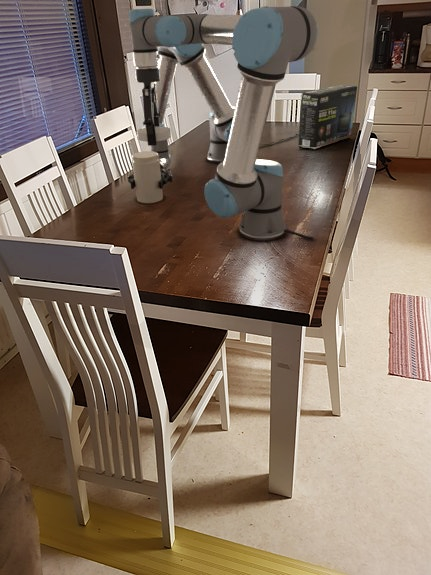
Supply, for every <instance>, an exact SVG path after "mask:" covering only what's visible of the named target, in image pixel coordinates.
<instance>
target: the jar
mask: <svg viewBox="0 0 431 575" xmlns="http://www.w3.org/2000/svg"><path fill="white" fill-rule="evenodd" d="M131 165H132V173H134V181H135V187H134V188H135V197H136V201H137V202H138V203H142V204H154V203H159V202H160V201H162V200H163V199H164V192H163V188H162V189H160V186H159V181H160V179H161V170H160V160H159V158H158V153H156V152H153V151H151V150H144V151H138V152H135V153H133V154H132V160H131Z"/></svg>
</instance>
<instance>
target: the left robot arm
mask: <svg viewBox="0 0 431 575" xmlns="http://www.w3.org/2000/svg"><path fill="white" fill-rule="evenodd" d="M158 47H159V48H158V54H157V55H160V58H158V60H159V65H158V66H157V68H159V69H160V81H158V82H153V83H155V84H156V95H157V102H158V109H159V113H161V116H159V126H161V127H167V126H166V124H165V123H164V118H165V115H166V110H167V106H168V103H169V98H170V95H171V94H170V93H171V88H172V85H173V81H174V77H175V73H176V69H177V65H178V64H179V65H180V67H183V68H186V69H187V71H188V73H189V75H190V76H191V78H192V80H193V82H194V84H195V85H196V87H197V89H198V91H199V92H200V94H201V96H202V98H203V99H204V102H205V104H206V105H207V106H208V108H209V110H210V112H209V114H208V116H209V117H208V120H209V122H208V123H209V140H210V142H209V147H208V152H207V155H206V158H207V159H206V160H207V162H210V163H213V164H220V163H222V162H224V159H225V154H226V149H227V144H228V140H229V135H230V130H231V125H232V120H233V116H234V111H235V106H232V104H231V103H230V101H229V99H228V97H227V95H226V93H225V92H224V90H223V87H222V86H221V84H220V82H219V80H218V79H217V77H216V74H215V73H214V71H213V68H212V67H211V65H210V63H209V61H208V59H207V58H206V56H205V54H206V47H205V46H204V44H187V45H179V46H176V47H165V46H158ZM141 128H146V125H143V124H142V126H141ZM168 140H169V139H166V140H162V141H156V143H157V145H151V146H150V151H153V152H156V153H158V158H159V160H160V170H161V179H160V181H159V186H160V189H162V190H163V188H164V185H167V184H168V182H169V183H173V175H172V171H171V168H169V167H170V165H171V161H172V158H171V154H170V150H169V141H168ZM127 181H128V183H129V184H130V189H131V190H134V188H135V181H134V173H133V172H132V173H131V174H129V175H128V176H127Z"/></svg>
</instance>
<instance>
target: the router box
mask: <svg viewBox="0 0 431 575" xmlns="http://www.w3.org/2000/svg"><path fill="white" fill-rule="evenodd" d="M357 93H358V86H356V85H350V84H339V85H338V84H337V85H334V86H328V87H324V88H318V89H314V90H309V91H304V92H301V93H300V109H299V110H300V111H299V124H298V132H299V134H298V137H297V146H298V145H302V146H307V147H317V146H320V145H323V144H325V143H328V142H331V141H333V140H336V139H338V138H341V137H344V136H347V135H351V136H352V133H353V132H352V131H353V125H354V115H355V109H356V99H357ZM311 151H313V150H312V149H311Z"/></svg>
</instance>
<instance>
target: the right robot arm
mask: <svg viewBox="0 0 431 575" xmlns="http://www.w3.org/2000/svg"><path fill="white" fill-rule="evenodd" d="M128 18H129V24H128V25H129V26H128V27H129V29H130V30H129V31H130V38H131V39H130V40H131V48H132V57H133V58H132V59H133V66H134V67H135V70H134V73H135V81H136V83H139V84H142V83H143V88H142V90H141V94H142V102H143V103H142V104H143V118H144V119H143V120H144V121H143V122H142V126H143V125H146V131H147V141H148V142H147V146H148V147H149V146H150V147H151V145H157V143H156V132H155V126H159V116H161V113H159V109H158V102H157V95H156V84H155V83H154V82H158V81H160V69H159V68H157V67H158V65H159V58H160V55H158V51H159V48H158V47H160V46H165V47H176V46H179V45H187V44H203V45H218V46H230V47H231V48H232V50H233V51H234V52H233V56H234V58H235V61H236V62H237V66H236V69H237V70H238V72H239V73H240V75H241V77H240V83H239V88H238V92H237V97H236V101H235V106H234V107H235V111H234V116H233V120H232V125H231V130H230V135H229V140H228V144H227V149H226V154H225V159H224V162H222V163H218V165H217V166H216V171H215V175H214V178H211V179H210V180H208V181H207V182H206V184H205V186H204V190H203V192H204V199H205V202H206V203H207V206H208V208H209V209H210V211H212V213H213V214H214V215H216V216H217V217H219V218H221V219H228V218H232V217H236V216H238V215H240V214H241V220H240V222H239V226H238V232H239V235H240V236H241V237H242V238H244V239H247V240H250V241H254V242H271V241H277V240H279V239H281V238H283V237H285V235H286V234H290V235H294V236H297V237H299V238H303V239H306V240H311V241H312V240H314V236H308V235H305V234H302V233H299V232H296V231H293V230H289V229H287V223H286V221H285V216H284V214H283V210H282V200H283V183H284V174H283V173H284V172H283V171H284V169H283V165H282V164H281V163H280V162H278V161H274V160H270V159H260V158H259V159H258V155H259V152H260V148H261V146H260V145H261V144H262V140H263V135H264V131H265V128H266V124H267V120H268V116H269V113H270V109H271V105H272V101H273V98H274V93H275V91H276V90H275V89H276V86H277V84H278V83H279V82H281V81H283V80H284V79H285V76H286V73H287V69H288V67H289V66H288V65H289V63H293V62H299V61H300V60H303V59H304V58H305V57H307V56H308V55H310V53H311V52H312V51H313V49H314V48H315V46H316V43H317V41H318V37H319V28H318V23H317V20H316V17H315V16H314V14H312V12H310V10H309V9H307V8H305V7H303V6H295V5H294V6H292V5H291V6H267V5H266V6H265V5H264V6H261V7H257V8H253V9H250V10H248V11H246V12H245V13H244V14H210V13H199V14H180V15H176V14H175V15H173V14H171V15H157V16H156V14H155V10H154V9H153V8H133V9H132V8H131V9H130V10H129V11H128Z"/></svg>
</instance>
